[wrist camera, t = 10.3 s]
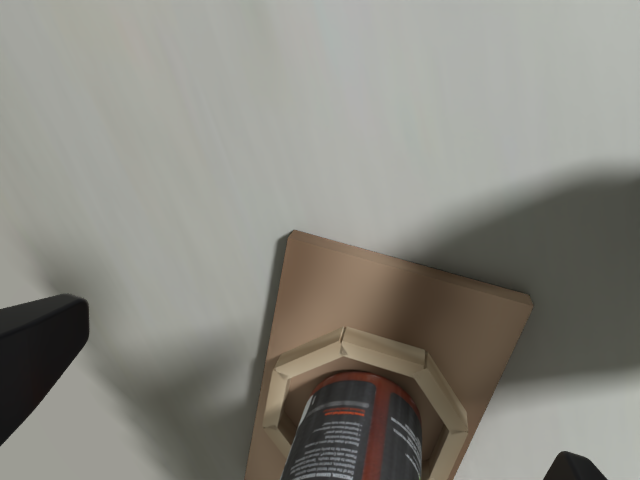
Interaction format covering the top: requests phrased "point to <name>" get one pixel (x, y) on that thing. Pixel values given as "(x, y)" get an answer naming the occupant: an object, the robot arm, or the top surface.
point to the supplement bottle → (357, 432)
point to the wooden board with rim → (383, 345)
